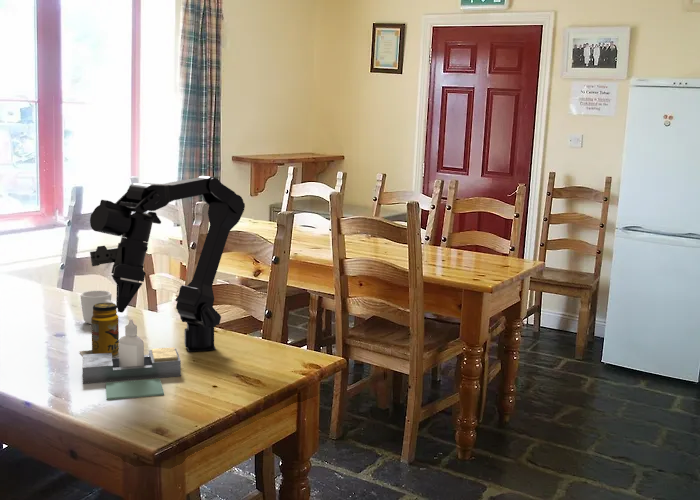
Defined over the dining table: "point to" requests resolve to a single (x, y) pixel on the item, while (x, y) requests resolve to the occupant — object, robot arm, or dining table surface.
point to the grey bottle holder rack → (108, 369)
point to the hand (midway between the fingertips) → (119, 310)
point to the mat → (134, 389)
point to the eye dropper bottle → (131, 347)
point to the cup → (93, 302)
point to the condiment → (104, 330)
